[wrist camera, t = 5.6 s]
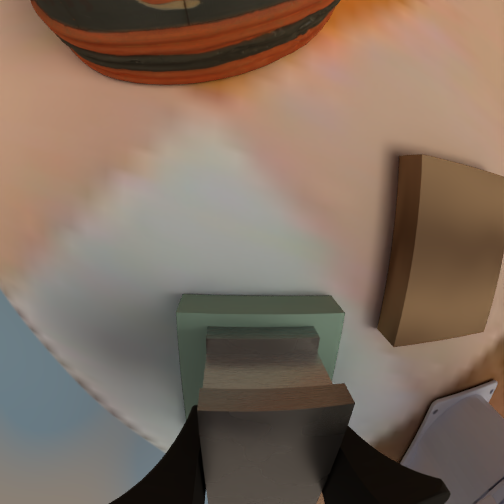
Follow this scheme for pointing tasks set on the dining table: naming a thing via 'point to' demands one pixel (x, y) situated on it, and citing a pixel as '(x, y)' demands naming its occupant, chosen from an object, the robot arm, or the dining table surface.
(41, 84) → the dining table surface
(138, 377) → the dining table surface
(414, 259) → the stand
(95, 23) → the beer stein
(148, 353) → the dining table surface
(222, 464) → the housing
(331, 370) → the stand
